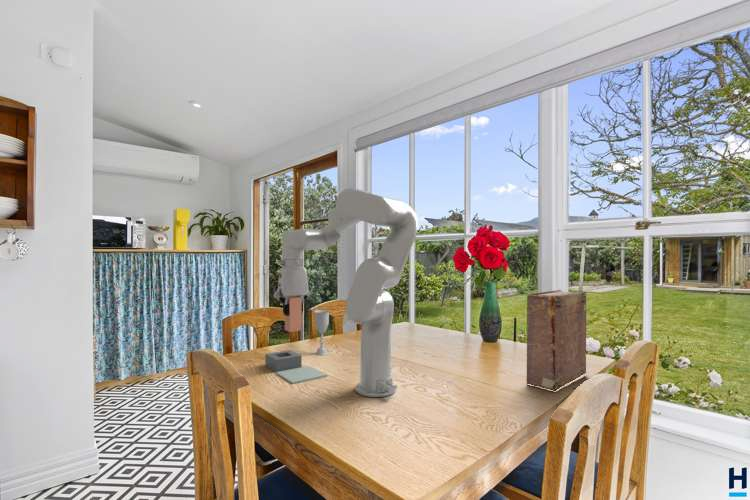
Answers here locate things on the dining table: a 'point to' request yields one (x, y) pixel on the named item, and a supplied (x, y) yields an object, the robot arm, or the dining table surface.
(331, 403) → the dining table surface
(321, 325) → the chalice
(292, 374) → the mat
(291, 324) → the plug
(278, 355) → the grey square socket block
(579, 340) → the book
